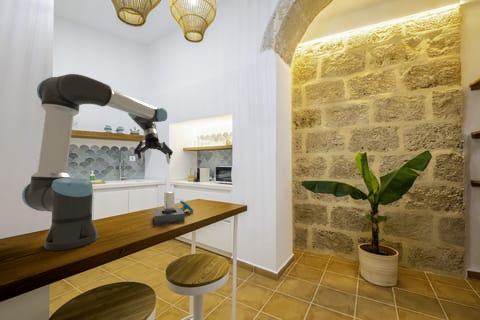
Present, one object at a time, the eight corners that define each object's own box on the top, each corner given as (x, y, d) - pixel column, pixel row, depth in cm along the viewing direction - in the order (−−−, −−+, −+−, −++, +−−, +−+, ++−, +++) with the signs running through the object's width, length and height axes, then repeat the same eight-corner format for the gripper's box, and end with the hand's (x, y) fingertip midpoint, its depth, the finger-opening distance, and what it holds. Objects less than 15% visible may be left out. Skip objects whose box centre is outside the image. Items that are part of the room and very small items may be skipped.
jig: (154, 224, 97) (154, 216, 98) (154, 217, 110) (154, 209, 110) (184, 221, 103) (184, 213, 103) (181, 214, 116) (181, 207, 116)
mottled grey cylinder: (164, 221, 103) (164, 193, 104) (163, 218, 108) (164, 192, 108) (174, 220, 105) (174, 192, 105) (173, 217, 110) (173, 191, 110)
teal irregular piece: (196, 210, 119) (183, 199, 116) (189, 219, 116) (176, 207, 114) (191, 209, 128) (179, 199, 126) (184, 217, 126) (172, 206, 123)
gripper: (171, 143, 132) (177, 167, 120) (127, 141, 119) (129, 167, 106) (173, 134, 128) (180, 157, 115) (128, 130, 115) (130, 156, 102)
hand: (155, 162), depth 111 cm, fingers open, 13 cm apart
